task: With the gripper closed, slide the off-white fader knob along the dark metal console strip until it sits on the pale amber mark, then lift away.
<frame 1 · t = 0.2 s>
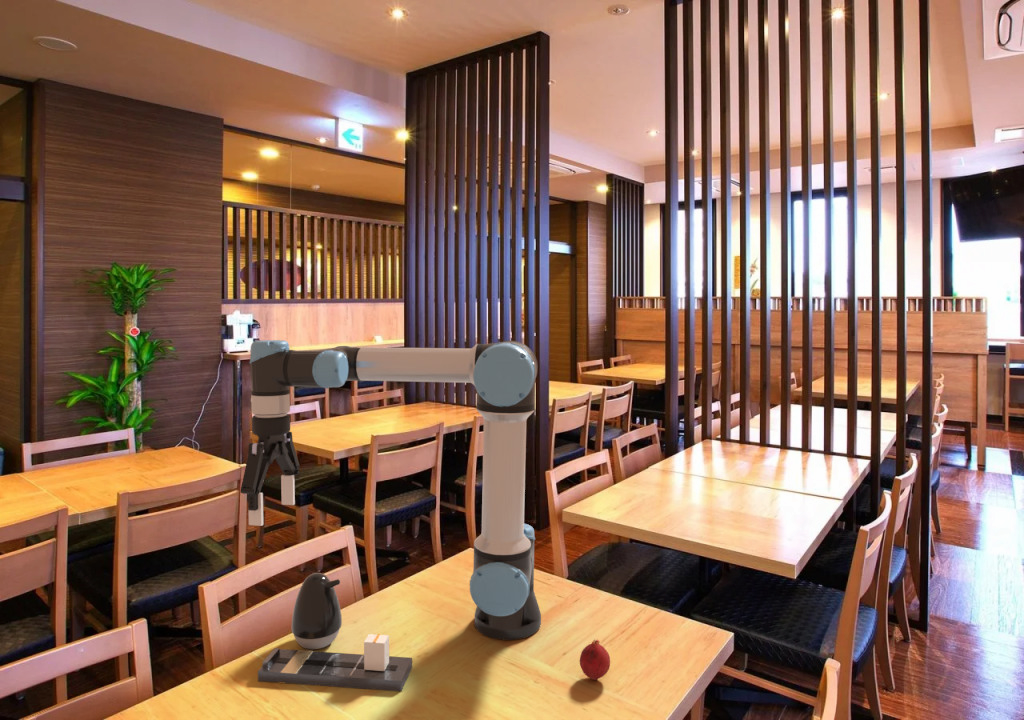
hand: (273, 514, 134), 28 cm above the table, fingers open, 13 cm apart
onion: (594, 680, 123), on the table
console: (336, 674, 124), on the table
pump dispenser: (317, 643, 136), on the table
fader knob: (376, 652, 123), point 5 cm above the table, slide at 0.0 cm
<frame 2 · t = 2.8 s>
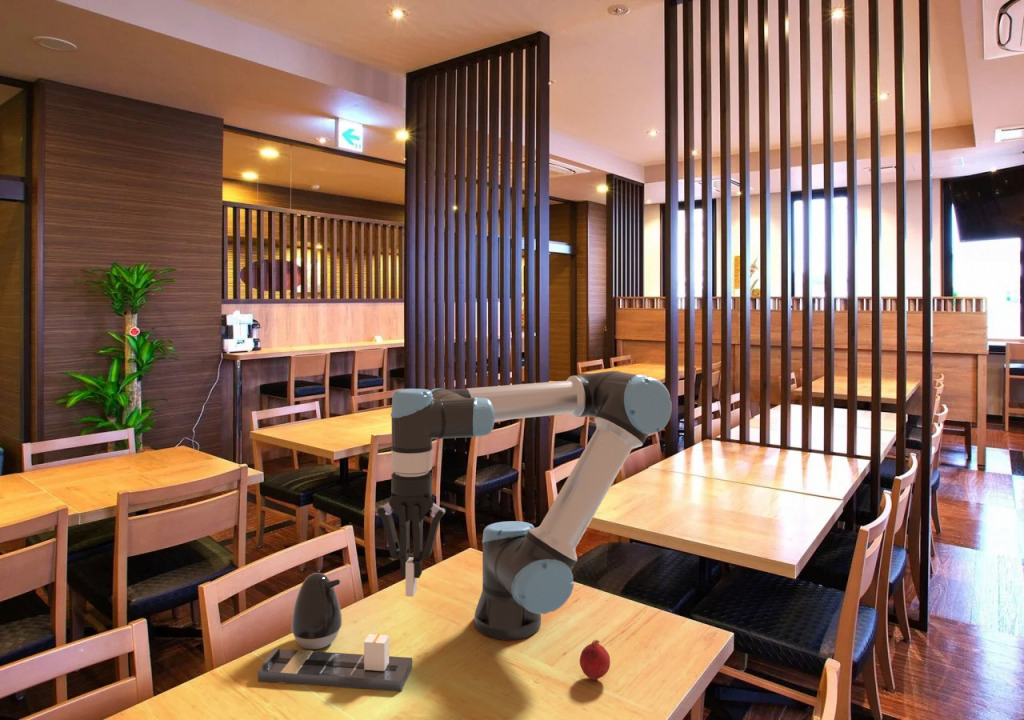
hand: (411, 593, 121), 17 cm above the table, fingers closed
nothing on the table moved.
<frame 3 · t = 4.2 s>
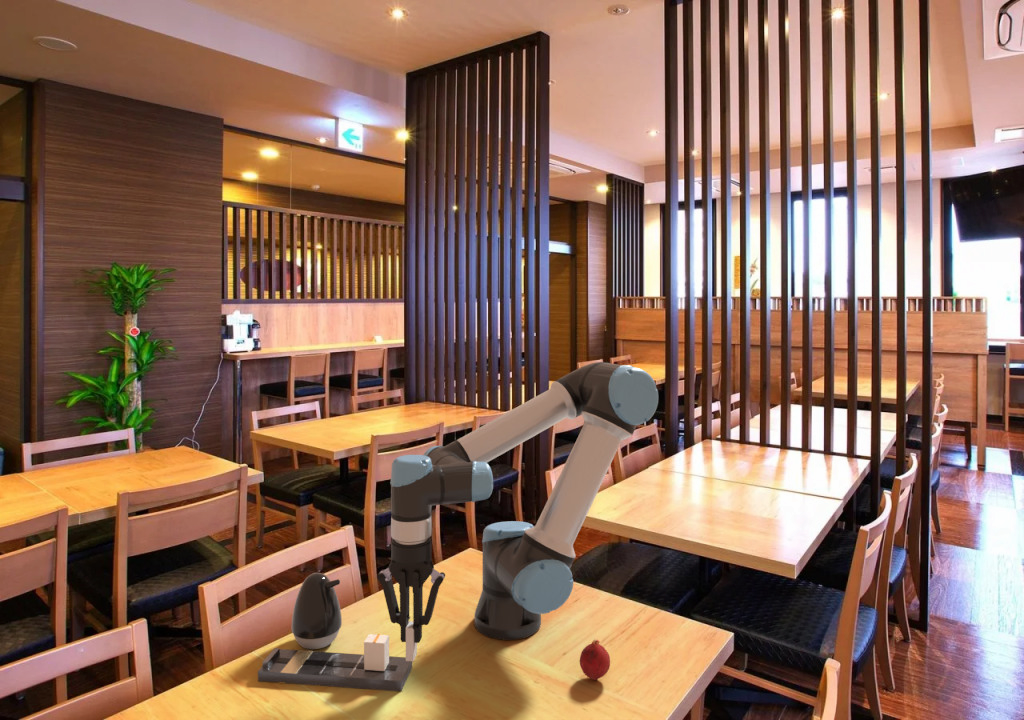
hand: (411, 657, 122), 4 cm above the table, fingers closed
nothing on the table moved.
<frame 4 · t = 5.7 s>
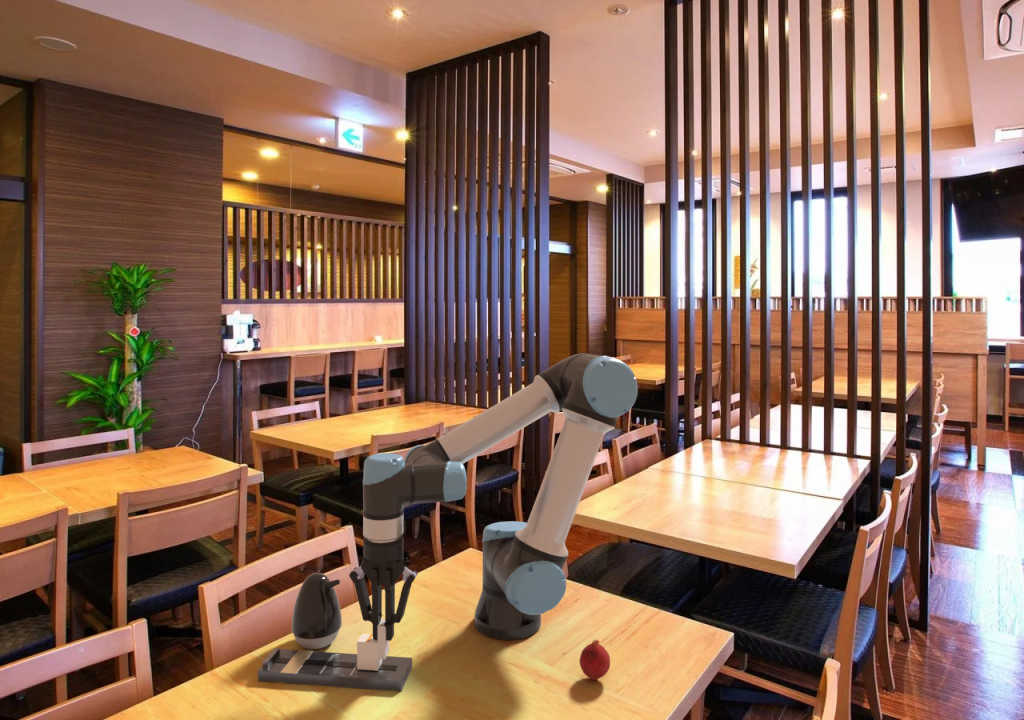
hand: (383, 655, 123), 5 cm above the table, fingers closed
fader knob: (369, 651, 123), point 5 cm above the table, slide at 1.4 cm, touching gripper
everything else where it was.
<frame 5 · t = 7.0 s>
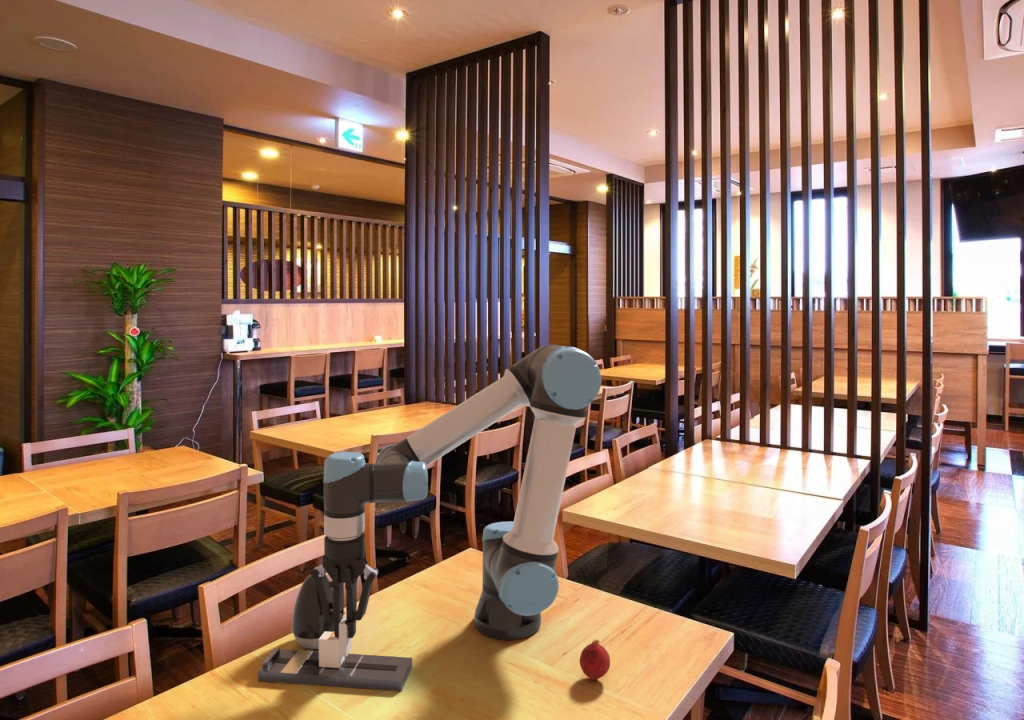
hand: (345, 652, 124), 5 cm above the table, fingers closed
fader knob: (331, 649, 124), point 5 cm above the table, slide at 9.0 cm, touching gripper
everything else where it was.
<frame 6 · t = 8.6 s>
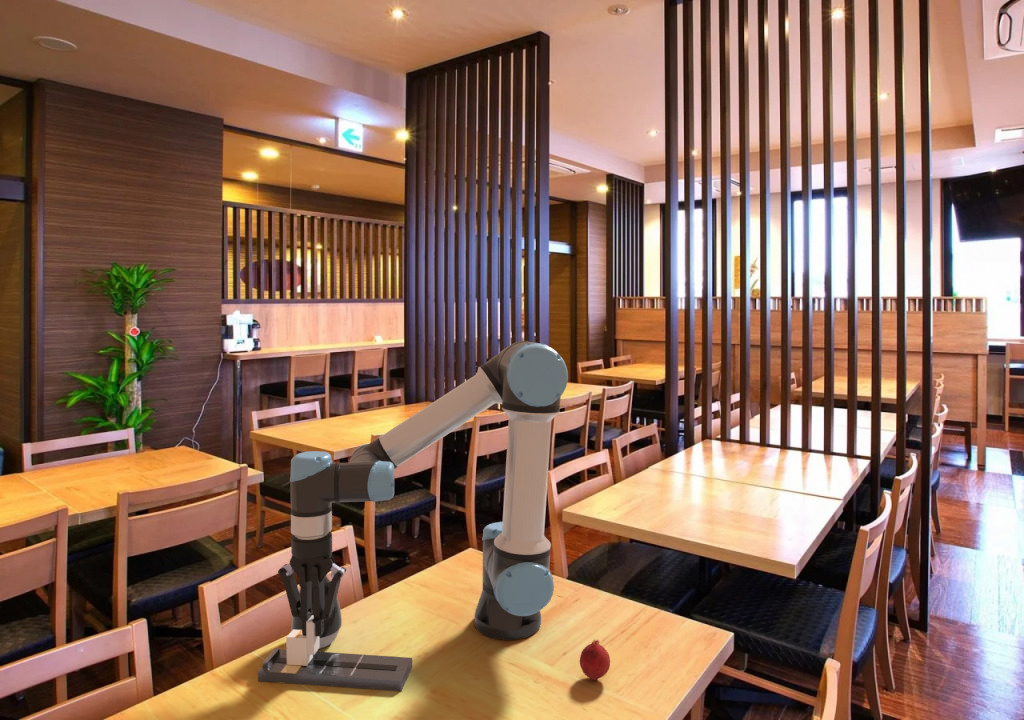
hand: (313, 650, 124), 4 cm above the table, fingers closed
fader knob: (299, 647, 124), point 5 cm above the table, slide at 15.4 cm, touching gripper
everything else where it was.
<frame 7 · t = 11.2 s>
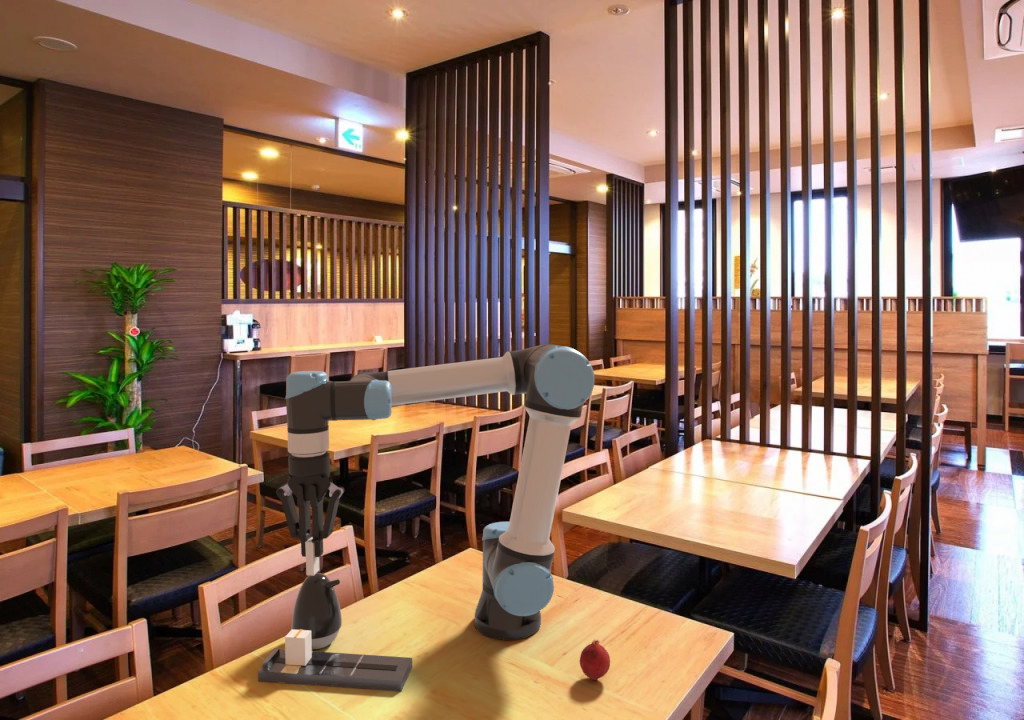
hand: (313, 572, 123), 20 cm above the table, fingers closed
fader knob: (298, 647, 125), point 5 cm above the table, slide at 15.7 cm
everything else where it was.
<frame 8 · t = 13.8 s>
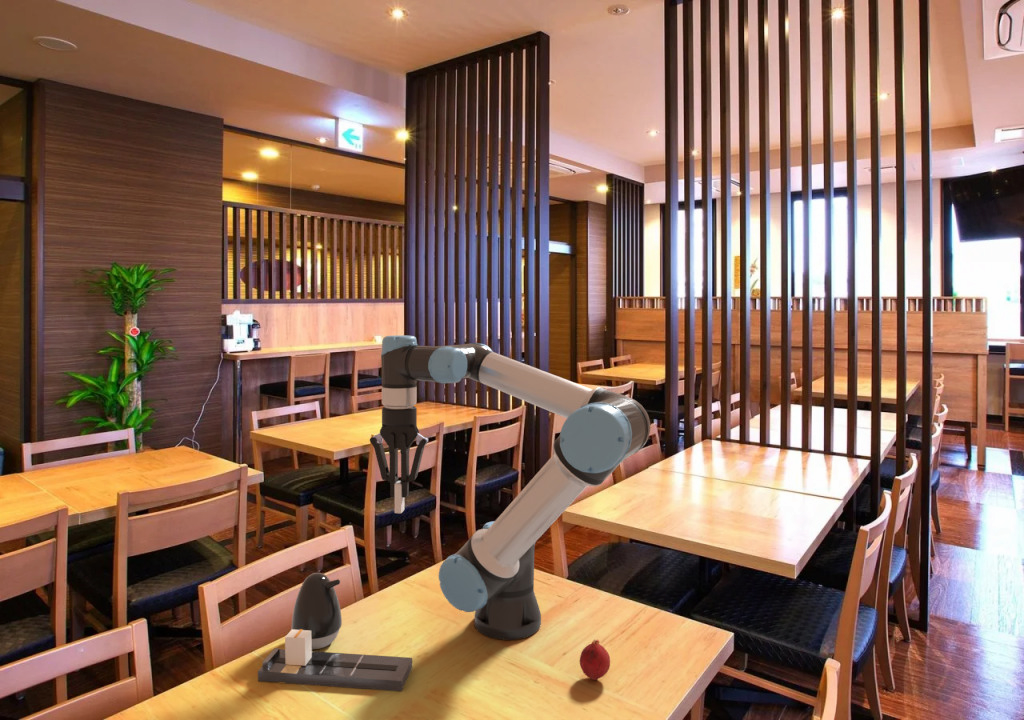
hand: (399, 511, 141), 26 cm above the table, fingers closed
nothing on the table moved.
at the end: fader knob slide at 15.7 cm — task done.
